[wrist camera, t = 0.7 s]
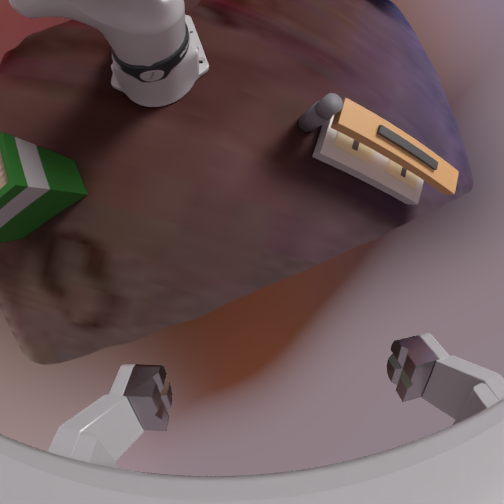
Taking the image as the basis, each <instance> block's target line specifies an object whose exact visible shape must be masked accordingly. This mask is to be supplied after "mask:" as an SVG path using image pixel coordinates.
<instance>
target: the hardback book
mask: <svg viewBox="0 0 504 504" xmlns="http://www.w3.org/2000/svg"><path fill="white" fill-rule="evenodd" d="M86 195H88V194H87V191H86V189H85V186H84V184H83V181H82V179H81V176H80V173H79V171H78V168H77V165H76V163H75V160H73V159H70V158H68V157H65V156H63V155H60V154H58V153H55V152H53V151H50V150H47V149H45V148H42V147H40V146H37V145H35V144H32V143H29V142H27V141H24V140H22V139H19V138H16V137H14V136H11V135H9V134H6V133H3V132H2V133H0V243H2V242H7V241H13V240H18V239H23V238H24V237H26V236H27V235H28V234H30V233H31V232H32V231H34V230H35V229H37V228H38V227H39V226H41V225H42V224H44V223H45V222H46V221H48V220H49V219H51V218H52V217H54V216H55V215H57V214H58V213H60V212H61V211H63V210H64V209H66V208H67V207H69V206H70V205H72V204H73V203H75V202H77V201H78V200H80V199H81V198H83V197H85V196H86Z"/></svg>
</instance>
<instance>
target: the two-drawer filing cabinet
mask: <svg viewBox="0 0 504 504" xmlns="http://www.w3.org/2000/svg"><path fill="white" fill-rule="evenodd" d="M318 102H319V101H318ZM318 102H316V103H315V104H314V105H313V106H312V107H311V108H309V109H308V110H307V111H306V112H305V113H304V114H303V115H302V116H301V117H300V118H299V119H298V125H299V127H300V129H301V130H303V131H305V132H311V131H313V130H315V129H316V128H318V127H319V126H320V125H322V124H323V125H322V128H321V131H320V134H319V137H318V140H317V143H316V146H315V150H314V153H313V156H312V157H313V158H316V159H318V160H320V161H322V162H325V163H327V164H329V165H331V166H333V167H335V168H337V169H340V170H342V171H344V172H346V173H348V174H350V175H352V176H354V177H356V178H358V179H360V180H362V181H364V182H366V183H368V184H370V185H372V186H374V187H376V188H378V189H380V190H381V191H383V192H385V193H387V194H389V195H391V196H393V197H395V198H396V199H398V200H400V201H402V202H404V203H405V204H418V202H419V198H420V194H421V190H422V186H423V181H424V180H423V179H421V178H420V177H418V176H416V175H415V174H413V173H412V172H410V171H408V170H407V169H405V168H404V167H402V166H400V165H399V164H397V163H395V162H394V161H392V160H390V159H389V158H387V157H385V156H383V155H382V154H380V153H378V152H376V151H375V150H373V149H371V148H369V147H367V146H365V145H364V144H362V143H360V142H358V141H356V140H354V139H352V138H350V137H348V136H346V135H344V134H343V133H341V132H339V131H336V130H334V129H332V128H331V125H332V121H333V118H334V115H335V114H334V115H333V116H331V117H330V118H328V119H323V118H321V117H319V116H318V115H317V114H316V112H315V105H316V104H317V103H318Z"/></svg>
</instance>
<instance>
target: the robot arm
mask: <svg viewBox="0 0 504 504" xmlns="http://www.w3.org/2000/svg"><path fill="white" fill-rule="evenodd" d="M9 2H10V4H11V6H12V7H13V8H14V9H15V10H16V11H17V12H18V13H20V14H21V15H23V16H26V17H29V18H38V17H63V18H68V19H73V20H76V21H80V22H83V23H85V24H88V25H90V26H92V27H94V28H96V29H98V30H99V31H100V32H101V33H102V34H103V35H104V36H105V38H106V39H107V41H108V42H109V44H110V45H111V52H112V60H113V64H112V65H111V69H112V72H113V74H112V79H111V85H112V87H113V88H115V89H117V90H120V91H123V92H124V93H125V94H126V95H127V96H128V97H129V98H130V99H131V100H132V101H134V102H135V103H137V104H139V105H142V106H147V107H160V106H165V105H168V104H171V103H173V102H175V101H177V100H179V99H180V98H182V97H183V96H184V95H185V94H186V93H187V92H188V91H189V90H190V89H191V88H192V86H193V84H194V83H195V81H196V80H197V79H198V78H199V77H201V76H202V75H204V74H205V73H206V72H207V71H208V70H209V65H208V62H207V59H206V56H205V54H204V51H203V48H202V45H201V43H200V40H199V37H198V35H197V32H196V29H195V27H194V24H193V21H192V19H191V17H190V16H187V15H185V7H184V0H9ZM199 62H203V63H199ZM391 351H392V352H393V354H392V355H391V356H390V357H389V359H388V362H387V373H388V376H389V379H390V380H391V382H392V383H394V384H396V385H397V388H396V391H397V393H398V395H399V396H400V398H401V400H402V402H404V401H408V400H412V399H415V398H418V397H422V398H423V399H425V400H426V401H428V402H429V403H431V404H432V405H434V406H435V407H437V408H439V409H440V410H441V411H443V412H445V413H446V414H448V415H449V416H451V417H453V418H454V419H456V420H455V422H454V423H453V425H452V426H450V427H447V428H445V429H443V430H441V431H438V432H436V433H434V434H431V435H428V436H426V437H423V438H421V439H418V440H415V441H413V442H410V443H407V444H404V445H401V446H398V447H395V448H392V449H389V450H386V451H382V452H379V453H375V454H372V455H368V456H365V457H361V458H357V459H353V460H349V461H344V462H340V463H336V464H330V465H326V466H320V467H314V468H308V469H302V470H296V471H288V472H280V473H270V474H259V475H244V476H182V475H168V474H156V473H146V472H139V471H131V470H124V469H121V468H120V467H119V466H118V465H117V463H116V460H118V458H119V457H120V456H121V455H122V454H123V453H124V452H125V451H126V450H127V449H128V448H129V447H130V446H131V445H132V444H133V443H134V442H135V440H136V439H137V438H138V437H139V436H140V435H141V434H142V433H143V432H144V430H155V431H167V426H168V421H169V414H168V412H167V410H169V409H170V408H171V406H172V389H171V386H170V382H168V381H167V380H166V379H165V378H166V374H167V373H166V371H165V368H164V366H162V365H138V364H136V365H133V364H123V365H122V366H121V367H120V369H119V371H118V373H117V376H116V378H115V381H114V383H113V385H112V388H111V390H110V392H109V395H104V396H102V397H101V398H100V399H98V400H97V401H95V402H94V403H92V404H91V405H90V406H88V407H87V408H85V409H84V410H82V411H81V412H80V413H78V414H77V415H75V416H74V417H72V418H71V419H70V420H68V421H67V422H65V423H64V424H62V425H61V426H59V428H58V430H57V433H56V435H55V437H54V439H53V441H52V444H51V446H50V448H49V450H48V452H47V451H44V450H41V449H38V448H35V447H32V446H29V445H26V444H24V443H21V442H18V441H16V440H13V439H10V438H8V437H5V436H3V435H1V434H0V504H504V379H503V378H502V376H501V375H500V374H499V373H496V372H494V371H491V370H489V369H486V368H483V367H481V366H478V365H476V364H473V363H471V362H468V361H466V360H463V359H461V358H458V357H456V356H453V355H452V356H449V355H448V353H447V352H446V351H445V350H444V349H443V348H442V346H441V345H440V344H439V343H438V342H437V341H436V340H435V338H434V337H433V336H432V335H431V334H430V333H423V334H420V335H417V336H412V337H408V338H404V339H400V340H395V341H394V342H393V344H392V346H391Z"/></svg>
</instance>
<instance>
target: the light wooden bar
mask: <svg viewBox="0 0 504 504" xmlns="http://www.w3.org/2000/svg"><path fill="white" fill-rule="evenodd" d="M315 112H316V114H317V115H318V116H319V117H321V118H323V119H328V118H330V117H331V116H333V115H334V114H335V115H334V118H333V121H332V125H331V128H332V129H334V130H336V131H339V132H341V133H343V134H344V135H346V136H348V137H350V138H352V139H354V140H356V141H358V142H360V143H362V144H364V145H365V146H367V147H369V148H371V149H373V150H375V151H376V152H378V153H380V154H382V155H383V156H385V157H387V158H389V159H390V160H392V161H394V162H395V163H397V164H399V165H400V166H402V167H404V168H405V169H407V170H408V171H410V172H412V173H413V174H415V175H416V176H418V177H420V178H421V179H423V180H424V181H426V182H427V183H429V184H430V185H432V186H433V187H435V188H436V189H438V190H439V191H440V192H442V193H443V194H455V190H456V184H457V179H458V173H459V171H457V170H456V169H455V168H454V167H452V166H451V165H450V164H448V163H447V162H446V161H445V160H443V159H442V158H441V157H439V156H438V155H437V154H435V153H434V152H432V151H431V150H430V149H428V148H427V147H425V146H424V145H423V144H421V143H420V142H418V141H417V140H415V139H414V138H412V137H411V136H409V135H408V134H406V133H405V132H403V131H402V130H400V129H399V128H397V127H396V126H394V125H392V124H391V123H389V122H388V121H386V120H384V119H383V118H381V117H379V116H378V115H376V114H374V113H372V112H371V111H369V110H367V109H365V108H364V107H362V106H360V105H358V104H356V103H355V102H353V101H351V100H349V99H347V98H345V99H343V100H341V98H340V97H339V96H338V95H336V94H333V93H329V94H327V95H326V96H325V97H324V98H322V99H321V100H320V101H319V102H318V103H317V104H316V105H315Z"/></svg>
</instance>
